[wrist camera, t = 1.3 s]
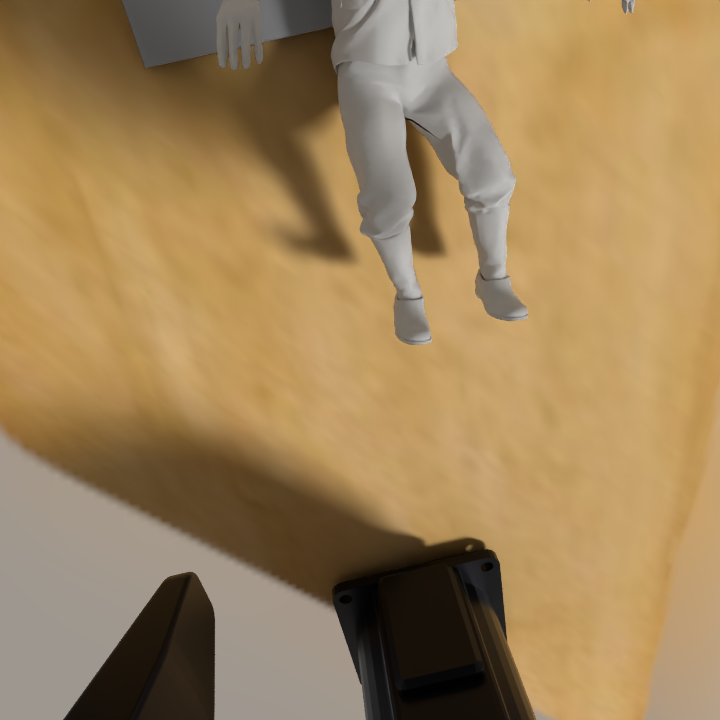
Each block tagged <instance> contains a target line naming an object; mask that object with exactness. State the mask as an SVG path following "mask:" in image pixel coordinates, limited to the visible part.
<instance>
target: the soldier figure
mask: <svg viewBox="0 0 720 720" xmlns="http://www.w3.org/2000/svg"><path fill="white" fill-rule="evenodd" d="M261 1H262V0H222V3H221V7H220V9H219V12H218V14H217V17H216V21H217V53H218V62H219V66H220V67H221V68H225V67H226V64H227V58H228V52H229V57H230V66H231V69H232V70H236V69H237V68H238V31H239V30H241V53H242V65H243V67H244V68H245V69H249V68H250V58H251V29H252V32H253V39H254V51H255V58H256V61H257V63H261V62H262V61H263V47H262V28H261V12H260V6H259V3H260V2H261ZM588 1H590V0H588ZM634 5H635V0H622V8H623V11H624V13H625V14H627V12H628V9H629V12H630V13H633V10H634ZM331 6H332V24H333V28H334V32H335V37H336V39H335V41H334V43H333V46H332V50H331V59H332V64H333V67H334V70H335V72H336V74H337V75H338V101H339V107H340V113H341V117H342V121H343V125H344V129H345V135H346V148H347V152H348V156H349V158H350V161H351V164H352V166H353V169H354V171H355V174H356V176H357V180H358V184H359V188H360V193H359V194H358V196H357V203H358V207H359V212H360V214H361V216H362V218H363V221H362V223H361V226H360V232H361V233H362V234H364V235H366V236H368V237H370V238H371V240H372V242H373V243H374V245H375V247H376V249H377V251H378V253H379V255H380V257H381V259H382V261H383V263H384V265H385V268H386V271H387V273H388V276H389V278H390V279H391V281H392V282H393V283H394V286H395V287H396V290H397V293H396V296H395V302H394V325H395V334H396V336H397V338H398V339H399V340H401V341H402V342H404V343H407V344H412V345H420V344H428V343H430V342H431V341H432V338H431V332H430V328H429V324H428V321H427V318H426V314H425V310H424V298H423V294H422V293H421V288H420V285H419V283H418V281H417V278H416V274H415V271H414V267H413V258H412V246H411V234H410V226H409V222H410V220H411V219H412V217H413V215H414V210H413V208H412V207H413V205H414V203H415V202H416V187H415V183H414V179H413V176H412V171H411V168H410V165H409V161H408V157H407V152H406V124H405V119H407V120H409V121H410V122H411V124H412V125H413V126H414V127H415V128H416V129H417V130H418V131H419V132H420V133H421V134H422V135H423V136H424V137H426V139H427V140H428V141H429V142H430V144H431V145H432V147H433V149H434V150H435V152H436V154H437V156H438V158H439V160H440V161H441V163H442V164H443V166H444V168H445V169H446V171H447V172H448V173H449V174H451V175H452V176H453V177H455V178H456V179H457V180H459V189H460V192H461V194H462V195H463V196H465V197H464V203H465V209H466V210H467V212H468V215H469V220H470V225H471V229H472V233H473V238H474V242H475V245H476V248H477V251H478V258H479V266H480V269H479V270H478V273H477V276H476V280H475V284H476V288H475V293H476V295H477V297H478V298H480V299H481V300H482V302H483V304H484V307H485V310H486V312H487V314H489V315H490V316H492V317H494V318H497V319H500V320H506V321H516V320H523V319H526V318H528V314H527V308H526V306H525V305H523V304H522V303H521V301H520V300H519V299H518V298H517V296H516V295H515V294H514V292H513V291H512V288H511V283H510V276H507V274H506V266H505V262H506V259H507V246H506V231H507V222H508V217H509V209H510V204H509V203H508V202H509V200H510V198H511V195H512V193H513V190H514V186H515V183H516V176H515V175H514V174H513V173H512V170H511V165H510V161H509V159H508V157H507V155H506V153H505V151H504V149H503V147H502V145H501V143H500V141H499V139H498V137H497V135H496V133H495V131H494V129H493V126H492V124H491V123H490V121H489V119H488V117H487V116H486V114H485V112H484V111H483V109H482V107H481V106H480V104H479V103H478V101H477V100H476V98H475V97H474V96H473V94H472V93H471V92H470V91H469V90H468V89H467V88H466V87H465V86H464V84H463V83H462V82H461V81H460V80H459V79H458V78H457V77H456V76H455V75H454V74H453V73H452V72H451V70H450V68H449V66H448V62H447V59H446V56H447V55H448V54H450V53H451V52H452V51H454V50H455V49H456V48H457V46H458V41H457V36H456V31H457V23H456V16H455V4H454V0H332V1H331ZM228 39H229V51H228Z"/></svg>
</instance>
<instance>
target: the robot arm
mask: <svg viewBox="0 0 720 720" xmlns="http://www.w3.org/2000/svg"><path fill="white" fill-rule="evenodd" d="M332 595H333V603H334V606H335V609H336V612H337V615H338V618H339V621H340V624H341V627H342V630H343V633H344V636H345V639H346V642H347V645H348V648H349V651H350V654H351V657H352V660H353V663H354V666H355V669H356V672H357V674H358V678H359V681H360V683H361V685H362V690H363V699H364V707H365V716H366V720H536V718H535V715H534V712H533V710H532V707H531V704H530V702H529V699H528V696H527V694H526V691H525V688H524V686H523V683H522V681H521V678H520V675H519V673H518V670H517V667H516V665H515V662H514V659H513V657H512V654H511V651H510V649H509V646H508V644H507V636H506V625H505V614H504V604H503V593H502V582H501V572H500V563H499V561H498V558H497V556H496V554H495V552H494V551H492V550H488V549H486V550H480V551H475V552H471V553H467V554H462V555H458V556H454V557H449V558H445V559H441V560H436V561H432V562H427V563H423V564H419V565H414V566H410V567H406V568H401V569H397V570H393V571H388V572H384V573H380V574H375V575H371V576H367V577H362V578H358V579H354V580H349V581H345V582H341V583H339V584H337V585H336V586H334V588H333V590H332ZM214 689H215V617H214V610H213V606H212V604H211V602H210V600H209V598H208V596H207V594H206V592H205V590H204V588H203V586H202V584H201V582H200V580H199V578H198V576H197V575H196V574H195V573H193V572H187V573H182V574H178V575H174V576H170V577H168V578H167V579H165V580H164V581H163V583H162V584H161V585H160V587H159V588H158V589H157V591H156V592H155V594H154V595H153V596H152V598H151V599H150V601H149V602H148V603H147V605H146V606H145V607H144V609H143V610H142V612H141V613H140V614H139V616H138V617H137V618H136V620H135V621H134V623H133V624H132V625H131V627H130V628H129V630H128V631H127V632H126V634H125V635H124V637H123V638H122V639H121V641H120V642H119V643H118V645H117V646H116V648H115V649H114V650H113V652H112V653H111V654H110V656H109V657H108V659H107V660H106V661H105V663H104V664H103V666H102V667H101V668H100V670H99V671H98V672H97V674H96V675H95V677H94V678H93V679H92V681H91V682H90V683H89V685H88V686H87V688H86V689H85V690H84V692H83V693H82V695H81V696H80V697H79V699H78V700H77V701H76V703H75V704H74V706H73V707H72V708H71V710H70V711H69V712H68V714H67V715H66V717H65V718H64V719H63V720H214V706H215V703H214V702H215V700H214V699H215V697H214V696H215V695H214V694H215V691H214Z"/></svg>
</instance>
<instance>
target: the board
mask: <svg viewBox="0 0 720 720" xmlns="http://www.w3.org/2000/svg"><path fill="white" fill-rule="evenodd" d="M331 1H332V0H262V1H261V2H260V3H259V6H260V12H261V28H262V43H264V42H268V41H273V40H277V39H282V38H286V37H291V36H295V35H300V34H304V33H309V32H313V31H318V30H322V29H327V28H332V27H333V24H332V6H331ZM122 2H123V5H124V8H125V11H126V14H127V17H128V20H129V23H130V26H131V28H132V31H133V34H134V37H135V40H136V43H137V46H138V49H139V52H140V55H141V58H142V61H143V63H144V66H145V68H151V67H155V66H160V65H164V64H169V63H173V62H178V61H182V60H187V59H191V58H196V57H200V56H205V55H209V54H214V53H217V21H216V17H217V14H218V12H219V9H220V7H221V3H222V0H122ZM251 45H254V39H253V32H252V29H251ZM238 48H241V30H239V31H238ZM228 50H229V39H228Z"/></svg>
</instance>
